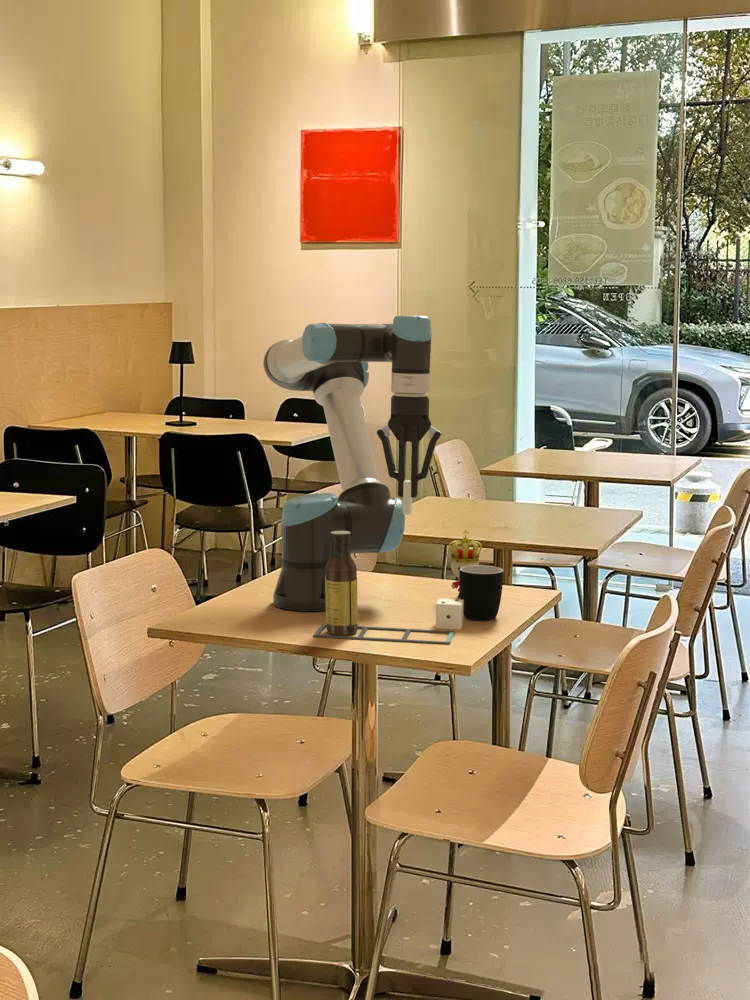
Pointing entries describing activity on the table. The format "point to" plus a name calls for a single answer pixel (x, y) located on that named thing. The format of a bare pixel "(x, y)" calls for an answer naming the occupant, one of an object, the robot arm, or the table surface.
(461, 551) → the toy
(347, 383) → the robot arm
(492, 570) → the mug
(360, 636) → the board
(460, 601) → the die
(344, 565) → the sauce bottle
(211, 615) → the table surface
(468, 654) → the table surface
